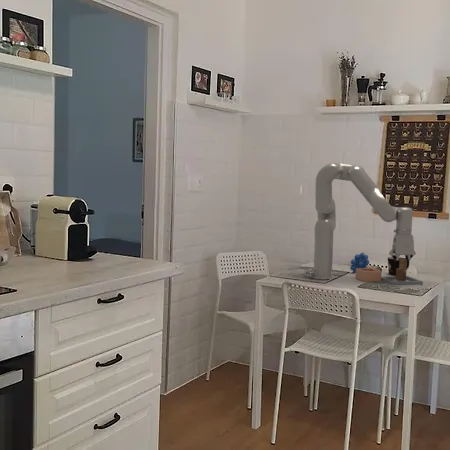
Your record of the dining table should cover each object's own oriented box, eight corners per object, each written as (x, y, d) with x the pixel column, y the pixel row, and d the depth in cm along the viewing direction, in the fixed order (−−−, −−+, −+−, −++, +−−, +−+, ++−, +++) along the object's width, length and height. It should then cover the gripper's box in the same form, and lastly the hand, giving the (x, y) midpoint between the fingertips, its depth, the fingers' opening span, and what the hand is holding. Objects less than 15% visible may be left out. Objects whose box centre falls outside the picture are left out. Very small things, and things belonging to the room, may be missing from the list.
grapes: (363, 272, 343) (365, 251, 342) (371, 274, 337) (372, 252, 336) (345, 273, 339) (346, 251, 338) (352, 275, 333) (353, 253, 332)
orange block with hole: (363, 283, 313) (364, 271, 313) (355, 279, 322) (356, 268, 322) (380, 282, 316) (381, 271, 315) (372, 279, 325) (372, 267, 324)
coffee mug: (403, 278, 329) (404, 259, 328) (387, 277, 331) (388, 258, 330) (402, 274, 341) (403, 256, 340) (385, 273, 342) (386, 255, 341)
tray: (393, 287, 306) (393, 282, 306) (379, 281, 319) (379, 276, 319) (422, 286, 310) (422, 281, 310) (407, 280, 323) (407, 275, 323)
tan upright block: (398, 281, 311) (400, 259, 310) (393, 279, 316) (395, 257, 315) (407, 280, 313) (409, 259, 311) (402, 278, 318) (403, 257, 316)
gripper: (392, 233, 306) (390, 269, 308) (422, 232, 310) (420, 268, 312) (384, 231, 313) (382, 266, 315) (414, 231, 318) (412, 266, 320)
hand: (401, 267), depth 314 cm, fingers closed on tan upright block, 4 cm apart
